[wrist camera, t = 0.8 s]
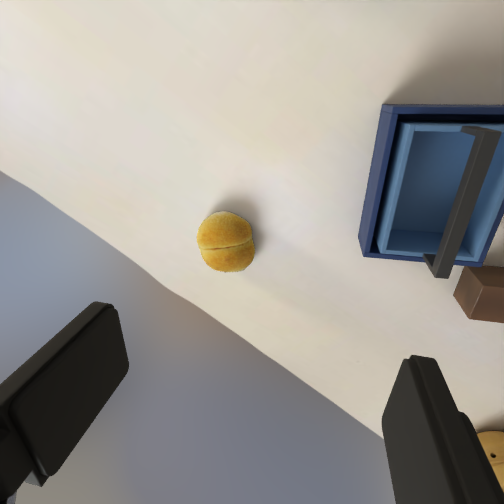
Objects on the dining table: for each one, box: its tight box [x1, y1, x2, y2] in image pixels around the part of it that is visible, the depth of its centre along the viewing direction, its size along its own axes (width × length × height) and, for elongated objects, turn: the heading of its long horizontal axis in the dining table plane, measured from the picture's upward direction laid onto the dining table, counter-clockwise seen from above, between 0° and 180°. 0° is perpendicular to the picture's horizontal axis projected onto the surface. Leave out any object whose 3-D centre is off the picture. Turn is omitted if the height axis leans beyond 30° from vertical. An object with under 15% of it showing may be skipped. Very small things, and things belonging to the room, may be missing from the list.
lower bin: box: [358, 104, 504, 267], centre depth 33 cm, size 16×12×6 cm
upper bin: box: [373, 119, 504, 279], centre depth 30 cm, size 13×10×11 cm
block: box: [453, 266, 504, 323], centre depth 37 cm, size 5×5×5 cm
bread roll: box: [197, 211, 255, 272], centre depth 42 cm, size 8×9×4 cm
